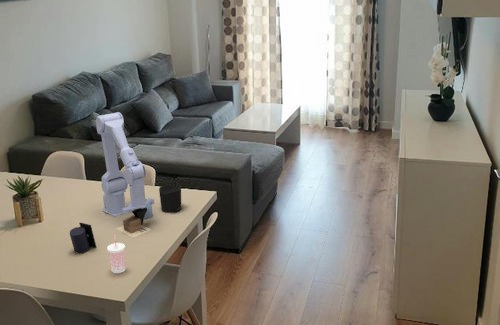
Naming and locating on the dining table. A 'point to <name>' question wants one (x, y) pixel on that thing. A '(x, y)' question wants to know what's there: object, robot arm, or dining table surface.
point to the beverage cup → (117, 256)
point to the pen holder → (170, 198)
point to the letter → (141, 231)
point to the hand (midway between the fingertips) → (140, 224)
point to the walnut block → (132, 224)
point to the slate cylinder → (148, 212)
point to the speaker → (82, 238)
